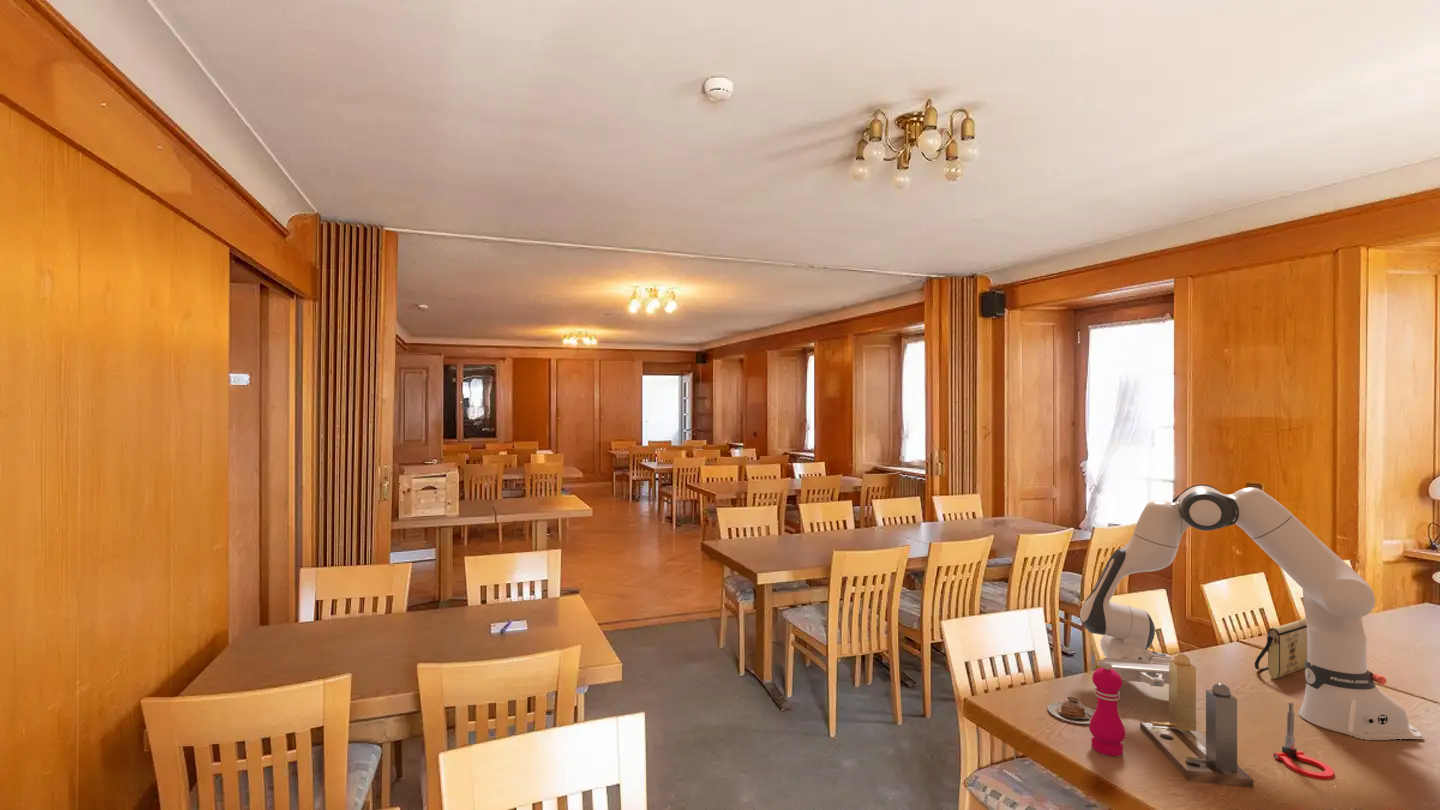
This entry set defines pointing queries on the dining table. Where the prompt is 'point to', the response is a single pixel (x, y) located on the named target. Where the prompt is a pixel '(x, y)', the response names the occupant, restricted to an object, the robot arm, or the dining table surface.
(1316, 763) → the tow hook
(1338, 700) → the robot arm
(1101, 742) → the pepper mill
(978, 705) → the dining table surface
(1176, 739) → the bolt strip
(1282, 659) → the clutch purse
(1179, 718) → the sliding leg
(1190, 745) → the walnut board
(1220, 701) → the fixed leg
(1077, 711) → the pastry
